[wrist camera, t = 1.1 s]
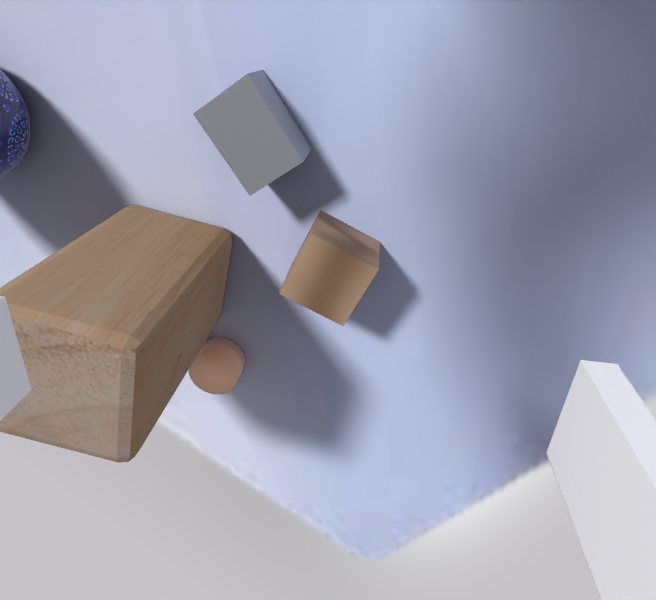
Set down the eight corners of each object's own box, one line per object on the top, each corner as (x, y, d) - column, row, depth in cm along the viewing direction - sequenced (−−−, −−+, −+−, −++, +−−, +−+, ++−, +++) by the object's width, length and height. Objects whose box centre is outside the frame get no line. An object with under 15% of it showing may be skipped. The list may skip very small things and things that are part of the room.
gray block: (214, 105, 40) (193, 114, 36) (263, 69, 39) (247, 73, 34) (264, 179, 43) (249, 195, 38) (312, 148, 41) (303, 161, 37)
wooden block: (222, 319, 50) (131, 472, 32) (125, 293, 50) (-20, 433, 32) (237, 227, 45) (139, 349, 27) (129, 198, 45) (-38, 302, 27)
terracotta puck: (189, 353, 52) (178, 370, 50) (219, 328, 50) (210, 344, 48) (224, 384, 54) (215, 402, 51) (255, 360, 52) (248, 377, 49)
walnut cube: (291, 264, 46) (279, 293, 41) (320, 209, 44) (311, 233, 38) (348, 293, 47) (343, 326, 42) (380, 241, 44) (379, 269, 39)
